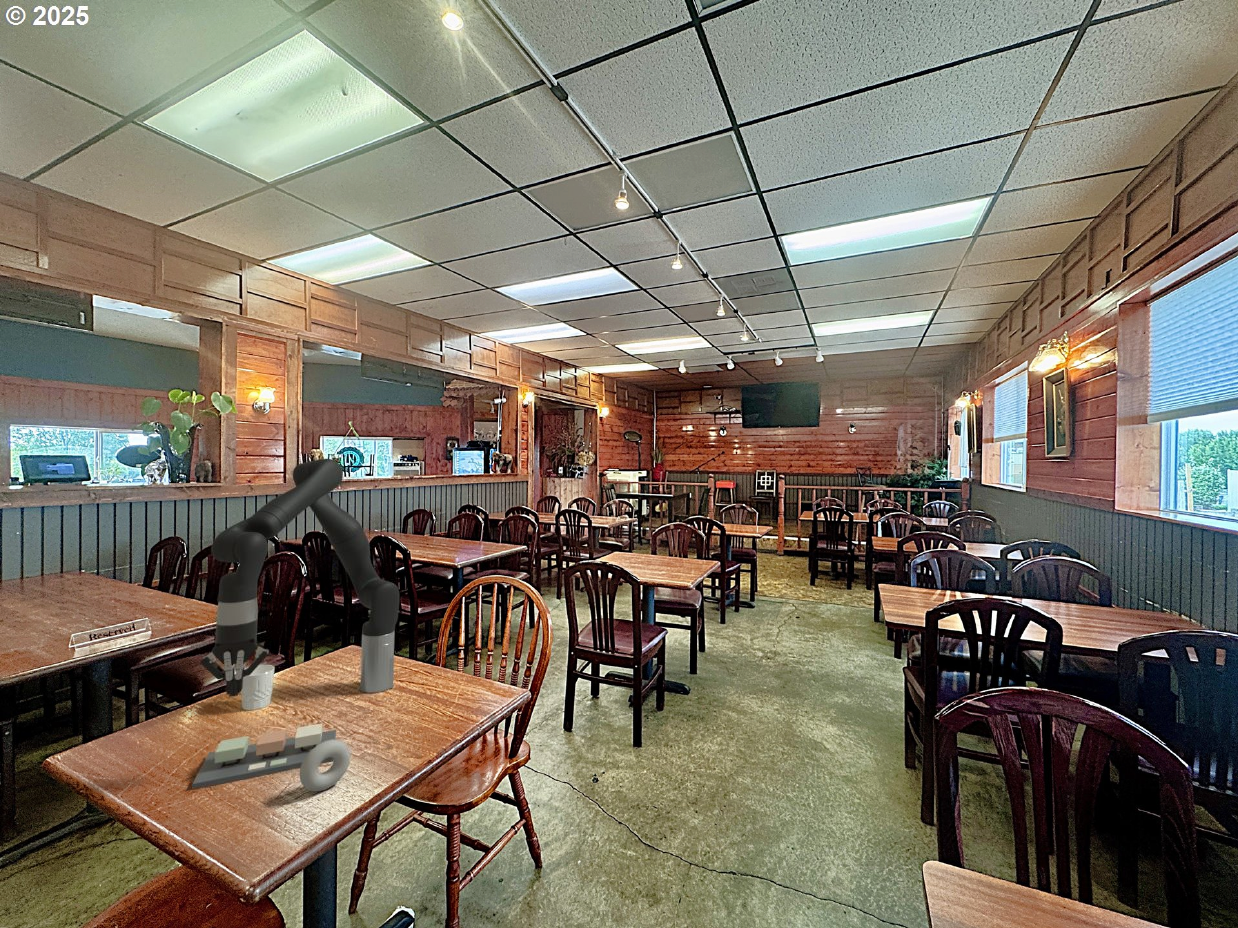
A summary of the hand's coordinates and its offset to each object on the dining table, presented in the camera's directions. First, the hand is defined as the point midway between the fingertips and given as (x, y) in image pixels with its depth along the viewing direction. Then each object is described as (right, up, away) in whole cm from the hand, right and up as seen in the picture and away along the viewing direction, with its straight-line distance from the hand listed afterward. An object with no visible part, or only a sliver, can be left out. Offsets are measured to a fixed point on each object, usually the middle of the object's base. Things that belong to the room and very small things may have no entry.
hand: (234, 694), depth 115 cm
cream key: (+13, -15, +7) cm, 21 cm away
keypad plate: (+6, -17, +3) cm, 18 cm away
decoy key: (+6, -15, +3) cm, 17 cm away
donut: (+25, -17, -7) cm, 31 cm away
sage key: (0, -15, 0) cm, 15 cm away
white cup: (-16, -16, +29) cm, 37 cm away
